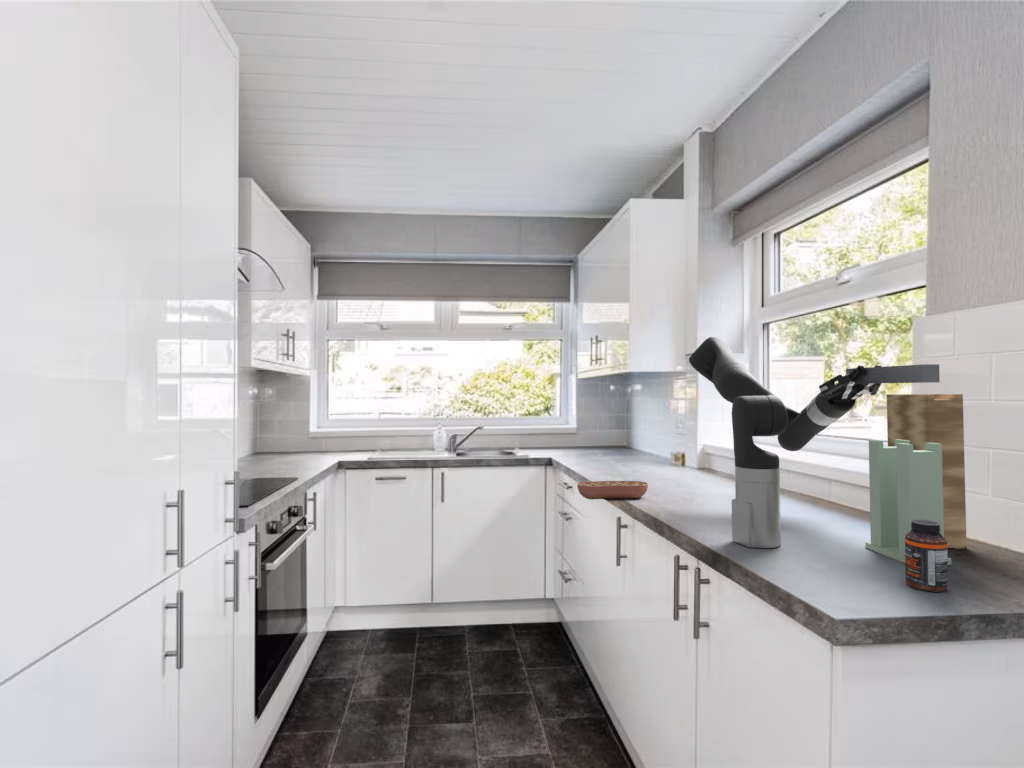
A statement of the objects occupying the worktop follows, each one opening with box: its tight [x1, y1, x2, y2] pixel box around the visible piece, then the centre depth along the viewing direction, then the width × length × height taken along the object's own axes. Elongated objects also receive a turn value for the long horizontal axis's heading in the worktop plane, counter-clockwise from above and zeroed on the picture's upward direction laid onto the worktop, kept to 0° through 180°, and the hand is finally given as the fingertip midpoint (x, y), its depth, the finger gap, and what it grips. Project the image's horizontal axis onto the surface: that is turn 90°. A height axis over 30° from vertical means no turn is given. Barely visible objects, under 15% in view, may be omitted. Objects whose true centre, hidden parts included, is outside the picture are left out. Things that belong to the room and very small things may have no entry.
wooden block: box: [886, 393, 968, 550], centre depth 126 cm, size 12×8×33 cm, turn 4°
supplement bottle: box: [904, 520, 949, 593], centre depth 97 cm, size 6×6×11 cm
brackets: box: [864, 439, 952, 566], centre depth 115 cm, size 13×8×24 cm, turn 4°
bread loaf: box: [576, 480, 649, 500], centre depth 181 cm, size 23×10×5 cm, turn 92°
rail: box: [845, 363, 940, 384], centre depth 119 cm, size 22×4×4 cm, turn 4°
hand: (871, 368), depth 124 cm, fingers closed on rail, 3 cm apart
